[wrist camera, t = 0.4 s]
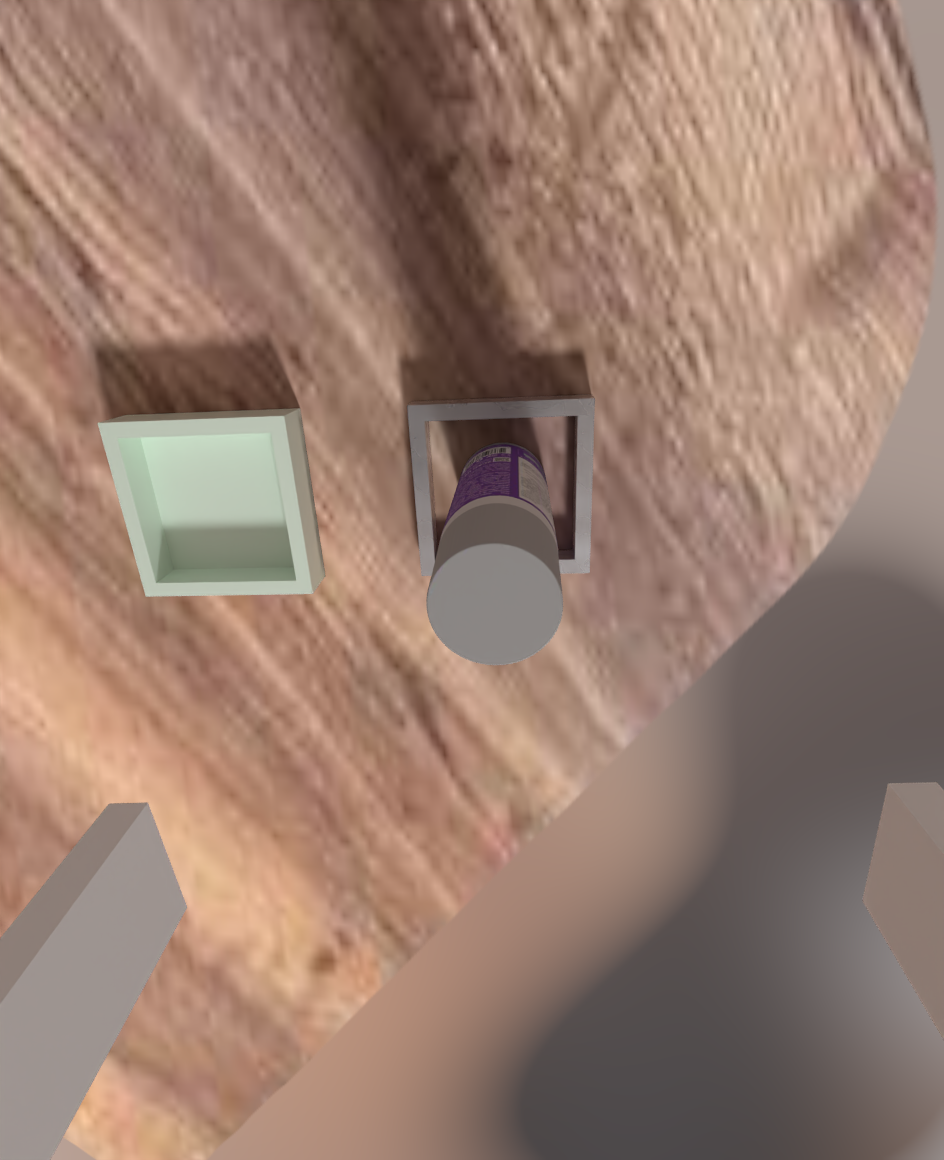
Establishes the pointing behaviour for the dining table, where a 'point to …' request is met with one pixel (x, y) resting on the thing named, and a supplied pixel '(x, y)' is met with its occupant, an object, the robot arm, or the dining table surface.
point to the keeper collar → (499, 409)
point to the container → (497, 561)
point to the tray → (217, 501)
